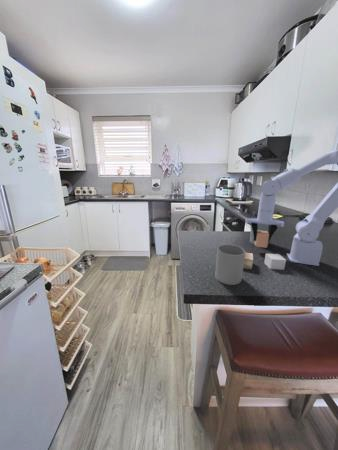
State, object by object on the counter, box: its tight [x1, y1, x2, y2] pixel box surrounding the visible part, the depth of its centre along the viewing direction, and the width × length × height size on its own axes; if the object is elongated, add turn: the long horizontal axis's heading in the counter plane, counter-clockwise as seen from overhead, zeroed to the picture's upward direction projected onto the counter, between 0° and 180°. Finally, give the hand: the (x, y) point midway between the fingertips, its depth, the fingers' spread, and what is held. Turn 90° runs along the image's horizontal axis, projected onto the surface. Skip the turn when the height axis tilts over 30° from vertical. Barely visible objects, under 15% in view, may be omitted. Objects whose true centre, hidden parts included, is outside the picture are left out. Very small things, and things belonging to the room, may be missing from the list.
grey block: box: [263, 253, 287, 271], centre depth 71 cm, size 5×5×4 cm
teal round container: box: [249, 217, 270, 246], centre depth 94 cm, size 10×10×12 cm
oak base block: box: [243, 252, 254, 270], centre depth 72 cm, size 6×6×4 cm
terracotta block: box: [254, 230, 269, 249], centre depth 82 cm, size 4×4×6 cm
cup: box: [214, 244, 247, 286], centre depth 61 cm, size 8×8×10 cm
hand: (261, 240), depth 82 cm, fingers closed on terracotta block, 4 cm apart
